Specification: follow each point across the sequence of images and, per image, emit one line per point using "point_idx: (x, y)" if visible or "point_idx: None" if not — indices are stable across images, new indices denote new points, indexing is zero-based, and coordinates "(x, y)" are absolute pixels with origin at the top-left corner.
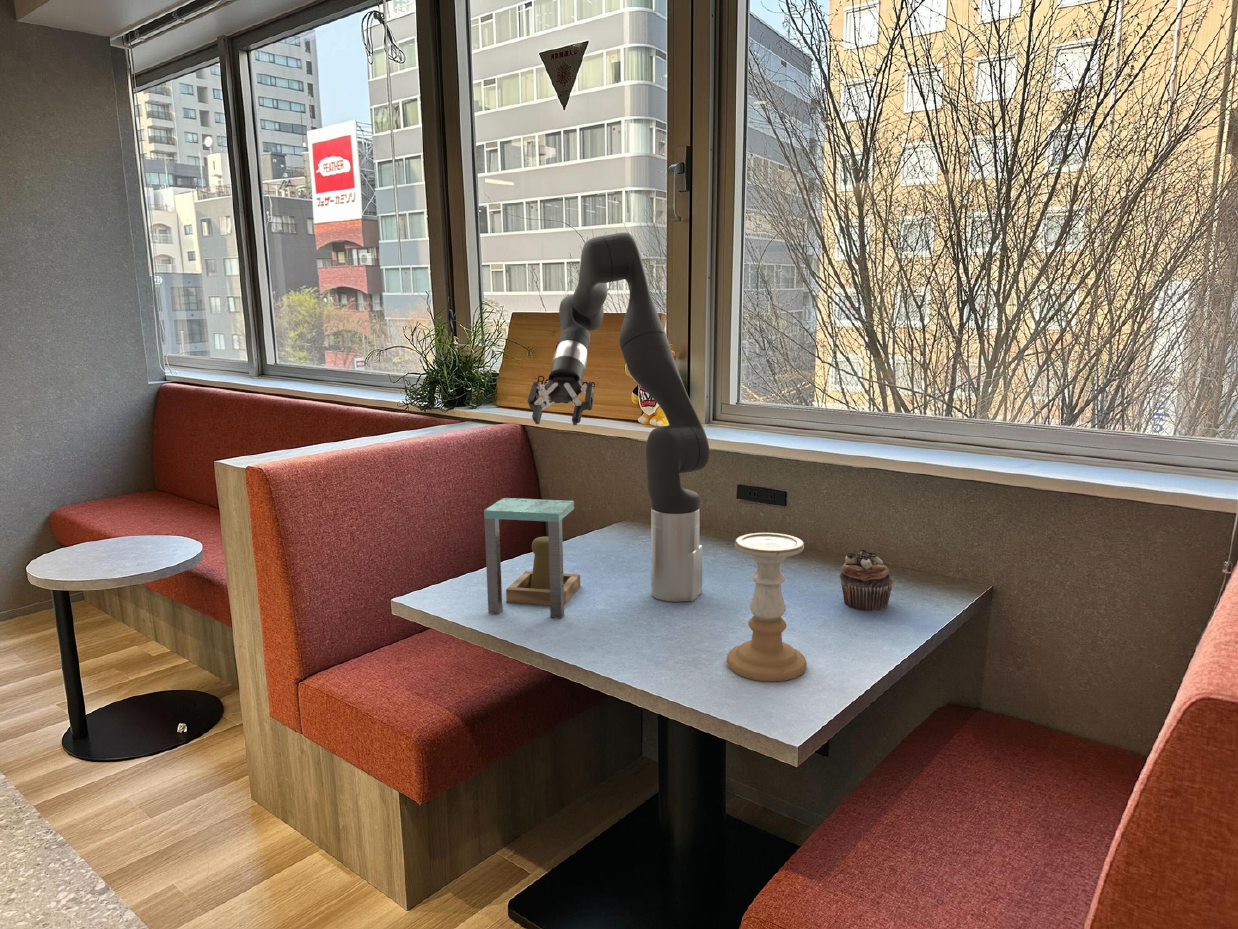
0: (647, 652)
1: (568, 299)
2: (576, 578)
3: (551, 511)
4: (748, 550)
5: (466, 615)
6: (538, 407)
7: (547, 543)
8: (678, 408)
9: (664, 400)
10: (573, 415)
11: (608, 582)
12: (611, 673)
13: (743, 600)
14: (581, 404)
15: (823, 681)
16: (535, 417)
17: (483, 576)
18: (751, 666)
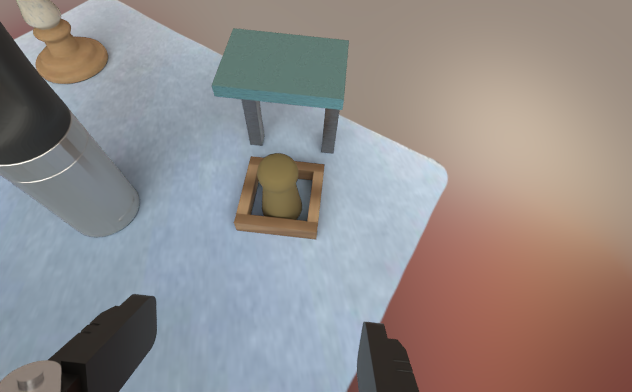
0: (170, 77)
1: None
2: (238, 206)
3: (245, 36)
4: None
5: (355, 138)
6: (384, 385)
7: (270, 154)
8: None
9: None
10: (132, 309)
11: (195, 249)
12: (204, 50)
13: (21, 194)
14: (13, 378)
15: (41, 45)
16: (375, 323)
17: (386, 263)
18: (91, 41)
